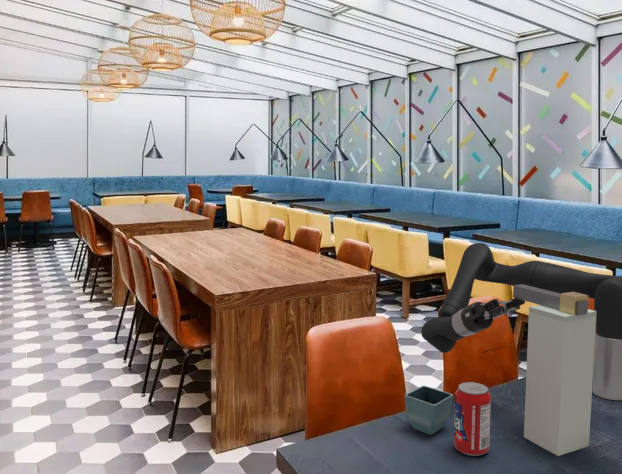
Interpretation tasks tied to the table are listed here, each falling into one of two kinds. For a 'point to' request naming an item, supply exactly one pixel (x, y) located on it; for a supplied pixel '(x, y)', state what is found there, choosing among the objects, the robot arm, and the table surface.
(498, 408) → the table surface
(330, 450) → the table surface
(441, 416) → the flower pot
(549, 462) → the table surface
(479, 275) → the robot arm
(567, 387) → the sage pedestal
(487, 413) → the soda can
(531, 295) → the steel handle bar
